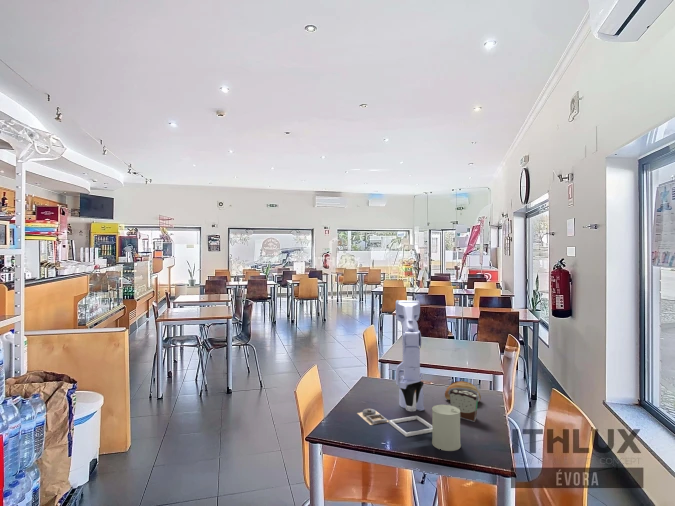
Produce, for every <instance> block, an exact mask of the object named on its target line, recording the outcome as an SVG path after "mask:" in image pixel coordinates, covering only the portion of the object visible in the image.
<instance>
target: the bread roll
mask: <svg viewBox="0 0 675 506" xmlns="http://www.w3.org/2000/svg"><path fill="white" fill-rule="evenodd" d="M452 388H467V389H471V390H474V391H476V392H477V393H478V395H479V398H480V401H481V400H482V399H481V398H482V395H481V393H480V392H479V389H478V388H477V386H475V385H474V383H471V382H469V381H464V380H461V381H460V380H456V381H453V382H451V383H450V385H449V386H447V387H446V390H445V392H444V398H445V399H447V400H448V401H450V394H448V392H449V389H452Z"/></svg>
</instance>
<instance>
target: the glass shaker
mask: <svg viewBox="0 0 675 506" xmlns="http://www.w3.org/2000/svg"><path fill="white" fill-rule="evenodd" d="M405 410H406V411H407V412H416V411H417V409H416V390H415V393H414V398H413V405H412V406H407V405H406V408H405Z"/></svg>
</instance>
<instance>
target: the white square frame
mask: <svg viewBox="0 0 675 506" xmlns="http://www.w3.org/2000/svg"><path fill="white" fill-rule="evenodd" d="M388 420H389V422H388V424H389V425H391V427H393V428H394V429H396V430H397V431H398V432H400V433H401V435H403V436H405V437H411V436H412V437H413V436H416V435H417V436H418V435H423V434H428V433H432V423H429V422H428V421H426V420H425V419H424V418H422V417H420V416H418V415H412V416H407V417H402V418H401V417H400V418H395V419H388ZM415 420H417V421H418V422H420V423H422V425H424V426H426V427H427V428H424V429H420V430H414V431H409V432H407V431H406V430H404V429H403V428H402V427H400V426H399V425H398V424H397V423H403V422H407V421H408V422H410V421H415Z"/></svg>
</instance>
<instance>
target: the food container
mask: <svg viewBox="0 0 675 506" xmlns="http://www.w3.org/2000/svg"><path fill="white" fill-rule="evenodd" d="M448 394H450V400H449V403H450V405H451V406H455V407H457V408H459V409H460V419H463V420H466V421H469V422H474V423H476V421H477V413H478V403H479V402H480V401H481V400H480V398H479V395H478V393H477V392H476V391H474V390H471V389H467V388H452V389H449V392H448Z"/></svg>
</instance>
